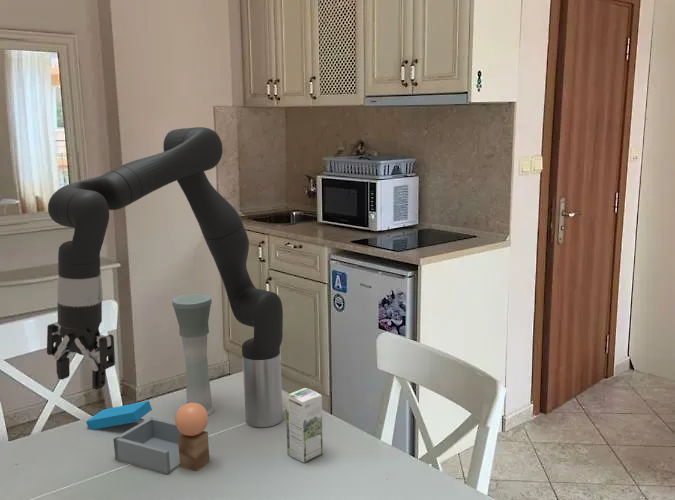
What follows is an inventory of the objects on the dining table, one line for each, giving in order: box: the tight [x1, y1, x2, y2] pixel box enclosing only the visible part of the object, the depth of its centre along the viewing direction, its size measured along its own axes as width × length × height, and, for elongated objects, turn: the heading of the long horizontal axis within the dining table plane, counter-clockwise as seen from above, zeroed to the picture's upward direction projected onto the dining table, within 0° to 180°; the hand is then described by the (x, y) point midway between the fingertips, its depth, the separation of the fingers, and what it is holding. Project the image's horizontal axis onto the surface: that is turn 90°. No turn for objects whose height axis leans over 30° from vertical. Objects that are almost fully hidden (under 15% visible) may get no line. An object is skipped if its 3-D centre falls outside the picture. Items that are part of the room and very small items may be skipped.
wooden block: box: [178, 430, 211, 472], centre depth 147 cm, size 4×4×7 cm
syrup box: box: [285, 387, 324, 464], centre depth 149 cm, size 6×6×14 cm
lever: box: [85, 400, 153, 431], centre depth 166 cm, size 7×7×18 cm
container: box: [171, 293, 215, 417], centre depth 171 cm, size 10×10×30 cm
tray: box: [112, 416, 182, 475], centre depth 152 cm, size 15×12×5 cm
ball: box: [174, 402, 209, 436], centre depth 146 cm, size 7×7×7 cm
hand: (80, 383), depth 126 cm, fingers open, 8 cm apart
